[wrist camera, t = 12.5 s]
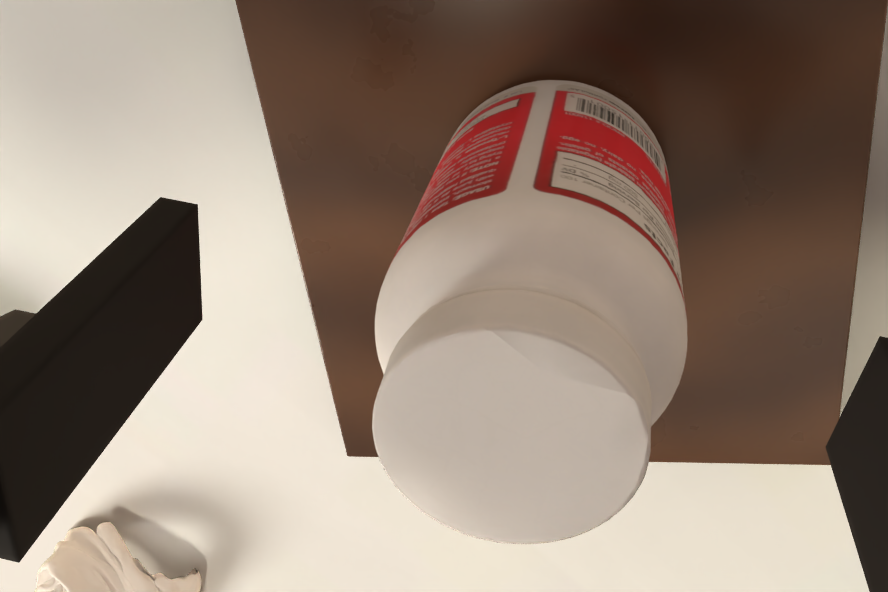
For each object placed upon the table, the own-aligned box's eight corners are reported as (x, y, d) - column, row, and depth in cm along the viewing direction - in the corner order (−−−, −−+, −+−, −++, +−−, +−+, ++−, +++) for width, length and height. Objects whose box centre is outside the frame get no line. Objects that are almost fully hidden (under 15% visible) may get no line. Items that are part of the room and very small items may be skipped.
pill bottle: (449, 277, 26) (347, 558, 16) (436, 74, 22) (301, 278, 13) (662, 284, 24) (684, 593, 15) (679, 72, 21) (720, 295, 12)
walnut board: (213, -190, 22) (188, -189, 20) (904, -305, 18) (925, -312, 17) (358, 430, 31) (347, 457, 30) (824, 435, 28) (834, 465, 26)
